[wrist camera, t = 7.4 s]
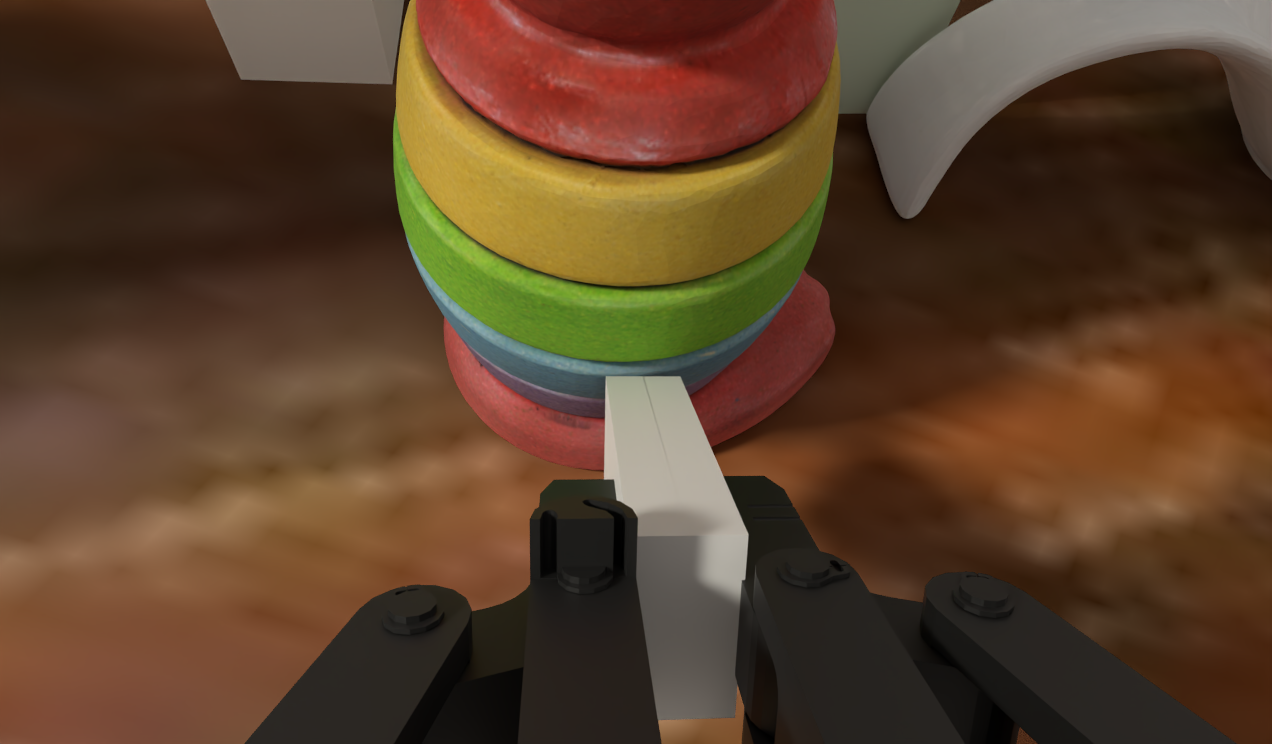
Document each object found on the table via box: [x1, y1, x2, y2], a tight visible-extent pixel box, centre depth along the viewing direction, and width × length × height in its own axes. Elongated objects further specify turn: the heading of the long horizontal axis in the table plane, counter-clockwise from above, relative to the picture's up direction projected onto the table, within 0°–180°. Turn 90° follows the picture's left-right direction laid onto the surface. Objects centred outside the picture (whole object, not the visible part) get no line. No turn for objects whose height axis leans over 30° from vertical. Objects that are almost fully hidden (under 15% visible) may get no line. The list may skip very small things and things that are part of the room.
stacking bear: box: [393, 0, 841, 470], centre depth 16 cm, size 11×10×18 cm
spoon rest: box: [866, 0, 1272, 219], centre depth 26 cm, size 24×12×7 cm, turn 98°
